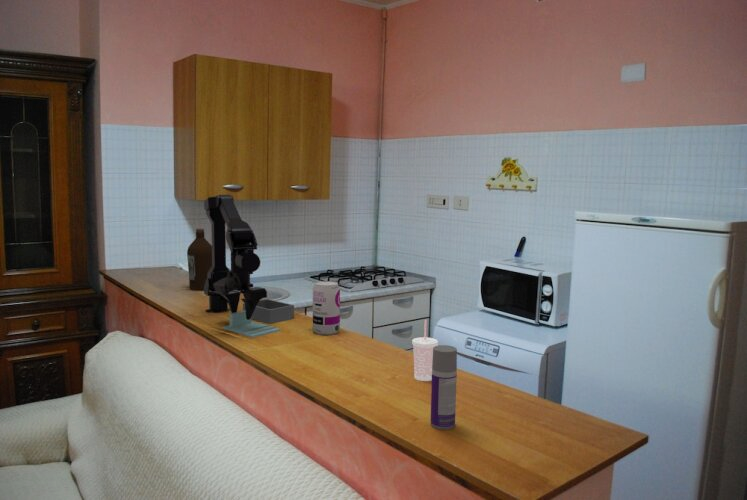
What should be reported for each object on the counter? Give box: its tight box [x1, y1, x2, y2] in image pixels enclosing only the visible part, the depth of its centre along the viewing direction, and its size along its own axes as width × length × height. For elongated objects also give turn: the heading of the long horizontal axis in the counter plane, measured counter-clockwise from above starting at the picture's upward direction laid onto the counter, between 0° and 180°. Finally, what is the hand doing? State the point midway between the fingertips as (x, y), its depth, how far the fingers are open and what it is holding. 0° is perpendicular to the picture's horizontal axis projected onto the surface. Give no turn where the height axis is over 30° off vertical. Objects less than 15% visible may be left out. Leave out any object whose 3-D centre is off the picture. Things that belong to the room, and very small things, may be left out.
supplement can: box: [312, 280, 341, 336], centre depth 175 cm, size 8×8×15 cm
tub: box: [242, 298, 295, 325], centre depth 191 cm, size 14×10×5 cm
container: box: [430, 344, 458, 431], centre depth 110 cm, size 5×5×15 cm
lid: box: [222, 310, 281, 339], centre depth 175 cm, size 14×10×6 cm
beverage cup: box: [411, 319, 439, 382], centre depth 136 cm, size 6×6×14 cm
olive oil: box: [186, 228, 212, 292], centre depth 239 cm, size 11×11×25 cm
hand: (241, 317), depth 178 cm, fingers open, 7 cm apart
